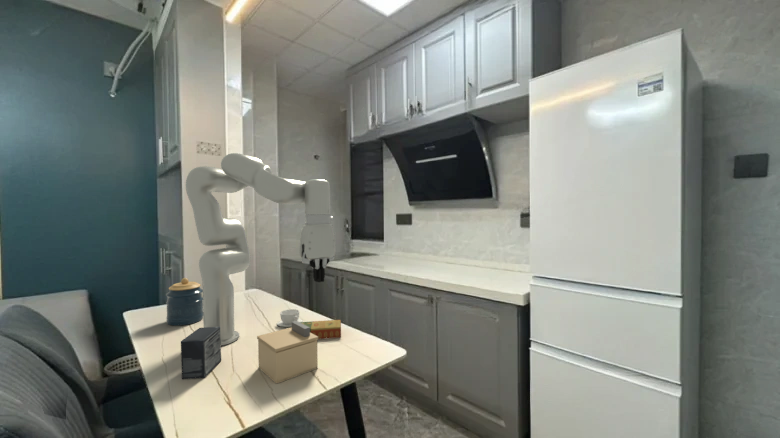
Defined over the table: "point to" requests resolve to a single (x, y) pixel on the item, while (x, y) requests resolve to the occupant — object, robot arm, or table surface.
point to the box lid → (288, 337)
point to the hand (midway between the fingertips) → (319, 281)
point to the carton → (325, 328)
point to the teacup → (289, 317)
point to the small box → (200, 352)
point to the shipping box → (287, 361)
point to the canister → (184, 303)
